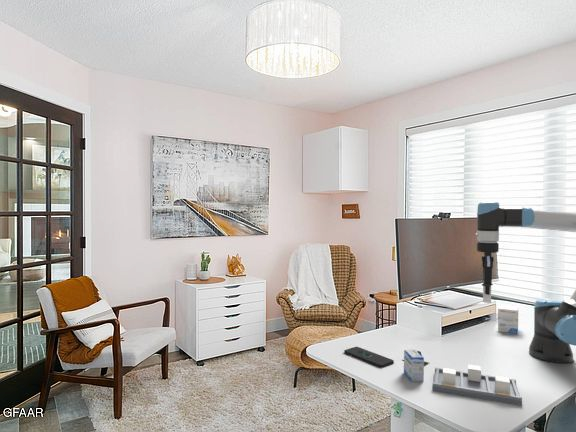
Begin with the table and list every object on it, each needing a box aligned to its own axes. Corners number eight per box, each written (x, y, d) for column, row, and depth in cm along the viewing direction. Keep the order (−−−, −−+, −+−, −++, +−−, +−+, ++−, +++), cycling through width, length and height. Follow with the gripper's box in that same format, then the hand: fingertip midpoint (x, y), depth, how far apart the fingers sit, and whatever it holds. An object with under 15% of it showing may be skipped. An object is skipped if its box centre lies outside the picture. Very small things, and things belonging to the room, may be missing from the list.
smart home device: (356, 345, 172) (394, 360, 156) (356, 349, 172) (394, 364, 156) (343, 350, 167) (381, 365, 151) (343, 354, 167) (380, 369, 151)
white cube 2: (480, 377, 139) (480, 366, 139) (480, 382, 136) (481, 370, 136) (467, 375, 141) (467, 364, 141) (468, 380, 137) (468, 368, 137)
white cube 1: (508, 389, 130) (508, 377, 130) (509, 394, 126) (510, 382, 126) (494, 387, 132) (494, 375, 132) (495, 392, 128) (496, 380, 128)
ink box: (518, 329, 199) (518, 306, 199) (517, 334, 192) (517, 310, 191) (499, 327, 203) (499, 304, 203) (497, 331, 196) (497, 307, 196)
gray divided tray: (515, 385, 136) (515, 378, 136) (522, 405, 123) (522, 398, 123) (435, 373, 147) (435, 366, 147) (432, 390, 133) (432, 383, 133)
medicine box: (403, 372, 147) (403, 349, 147) (415, 372, 148) (415, 349, 147) (411, 381, 139) (412, 357, 139) (424, 381, 140) (424, 357, 139)
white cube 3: (455, 381, 136) (455, 369, 136) (455, 386, 133) (455, 374, 133) (443, 379, 138) (443, 367, 138) (442, 383, 134) (442, 372, 134)
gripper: (476, 240, 161) (475, 297, 162) (477, 242, 149) (477, 305, 150) (497, 240, 158) (496, 299, 159) (500, 243, 146) (499, 307, 147)
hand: (486, 302), depth 154 cm, fingers closed
